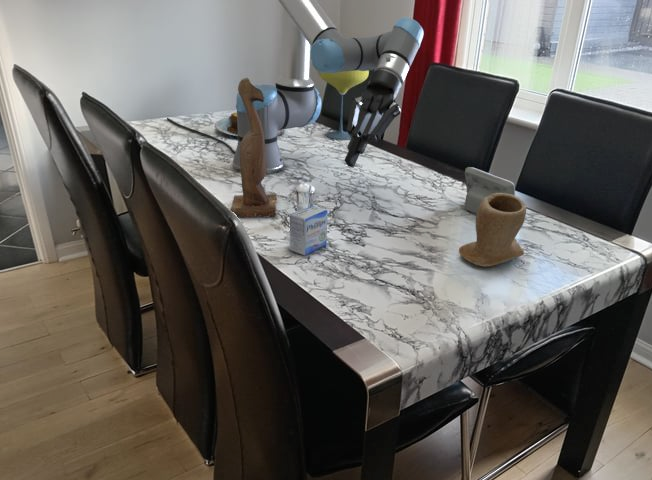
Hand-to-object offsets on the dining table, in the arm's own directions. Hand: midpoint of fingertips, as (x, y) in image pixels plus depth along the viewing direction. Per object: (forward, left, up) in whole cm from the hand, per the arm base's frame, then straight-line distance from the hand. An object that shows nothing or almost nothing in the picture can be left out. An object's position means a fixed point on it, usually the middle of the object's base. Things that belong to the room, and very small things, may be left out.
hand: (349, 163), depth 132 cm
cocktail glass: (-64, +56, -16) cm, 87 cm away
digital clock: (+15, +38, -16) cm, 44 cm away
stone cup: (+33, +15, -16) cm, 40 cm away
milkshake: (-9, -5, -16) cm, 19 cm away
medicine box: (+3, -15, -16) cm, 22 cm away
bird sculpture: (-22, -11, -16) cm, 30 cm away
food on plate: (-86, +32, -16) cm, 93 cm away
